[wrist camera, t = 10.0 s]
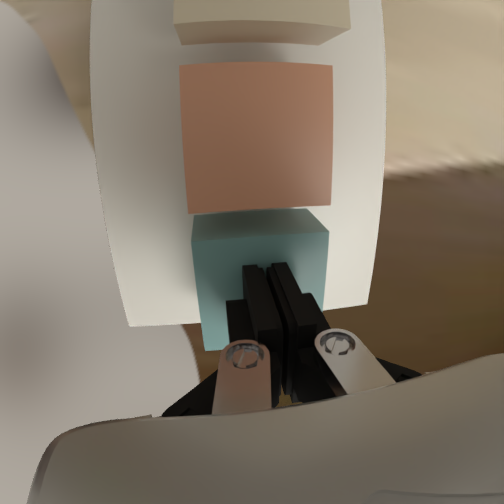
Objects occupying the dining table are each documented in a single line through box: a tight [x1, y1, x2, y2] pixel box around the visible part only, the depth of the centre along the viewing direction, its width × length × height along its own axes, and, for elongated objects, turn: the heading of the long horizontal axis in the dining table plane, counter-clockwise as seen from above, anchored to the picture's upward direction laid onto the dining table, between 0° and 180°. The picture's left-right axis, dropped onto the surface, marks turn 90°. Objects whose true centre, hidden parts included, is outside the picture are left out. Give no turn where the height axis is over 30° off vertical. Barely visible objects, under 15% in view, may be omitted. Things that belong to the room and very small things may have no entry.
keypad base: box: [90, 0, 386, 327], centre depth 14 cm, size 26×14×3 cm, turn 2°
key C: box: [179, 62, 333, 214], centre depth 13 cm, size 5×5×6 cm
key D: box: [191, 208, 329, 351], centre depth 15 cm, size 5×5×6 cm
